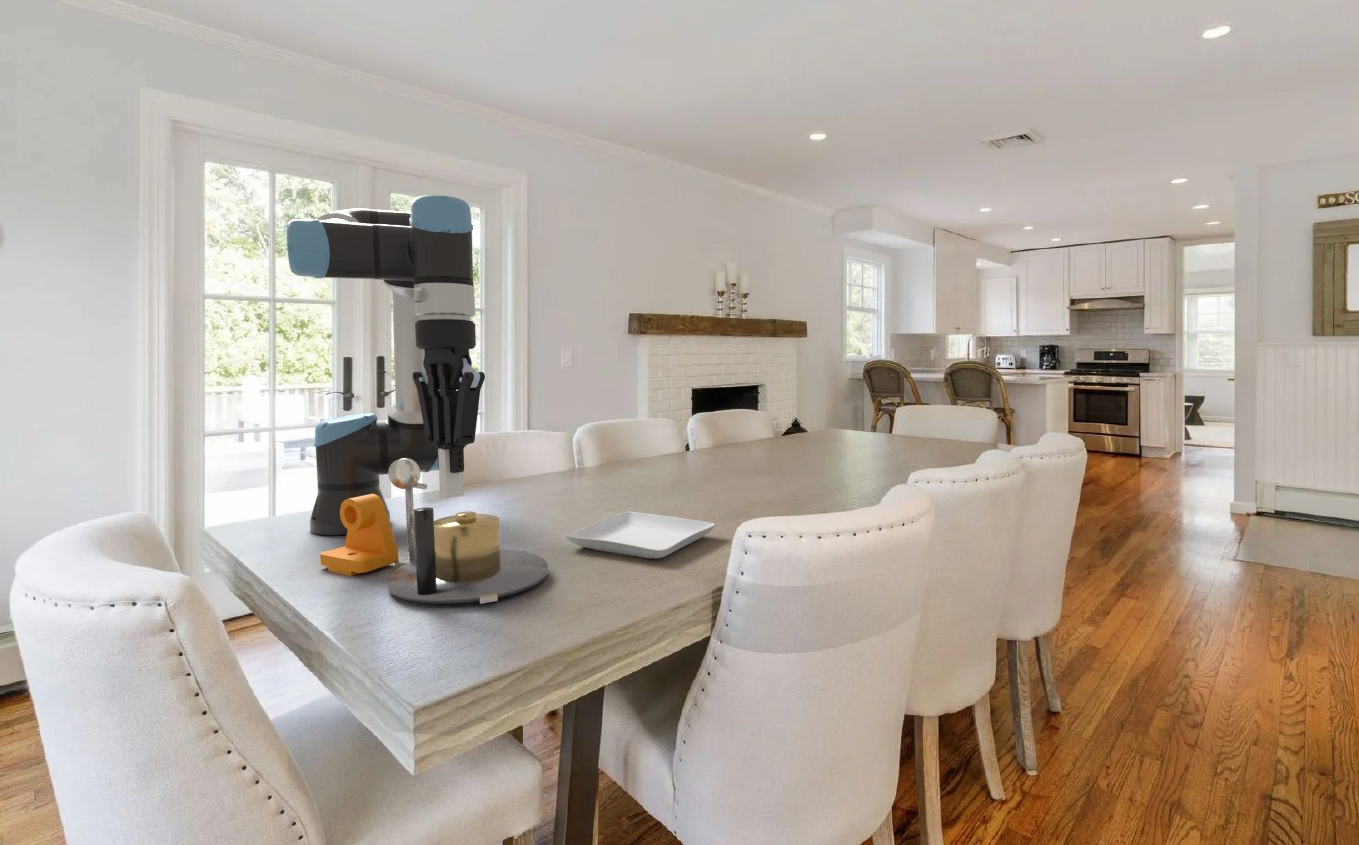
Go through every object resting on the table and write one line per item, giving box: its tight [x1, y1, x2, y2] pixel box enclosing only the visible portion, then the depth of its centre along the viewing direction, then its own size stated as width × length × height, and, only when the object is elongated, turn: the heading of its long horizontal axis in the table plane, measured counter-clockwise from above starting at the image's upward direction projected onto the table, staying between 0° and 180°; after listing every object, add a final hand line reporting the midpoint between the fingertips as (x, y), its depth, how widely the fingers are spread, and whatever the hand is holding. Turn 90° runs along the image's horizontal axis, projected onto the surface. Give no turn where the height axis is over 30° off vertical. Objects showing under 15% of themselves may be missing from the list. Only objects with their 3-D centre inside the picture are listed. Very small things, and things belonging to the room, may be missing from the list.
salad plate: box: [565, 510, 716, 559], centre depth 131 cm, size 21×21×3 cm
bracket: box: [319, 494, 400, 577], centre depth 116 cm, size 11×7×12 cm, turn 63°
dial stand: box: [387, 458, 428, 570], centre depth 116 cm, size 7×4×18 cm, turn 83°
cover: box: [434, 510, 501, 582], centre depth 108 cm, size 10×10×9 cm
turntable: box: [386, 506, 549, 605], centre depth 108 cm, size 24×24×13 cm
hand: (452, 495), depth 93 cm, fingers closed
